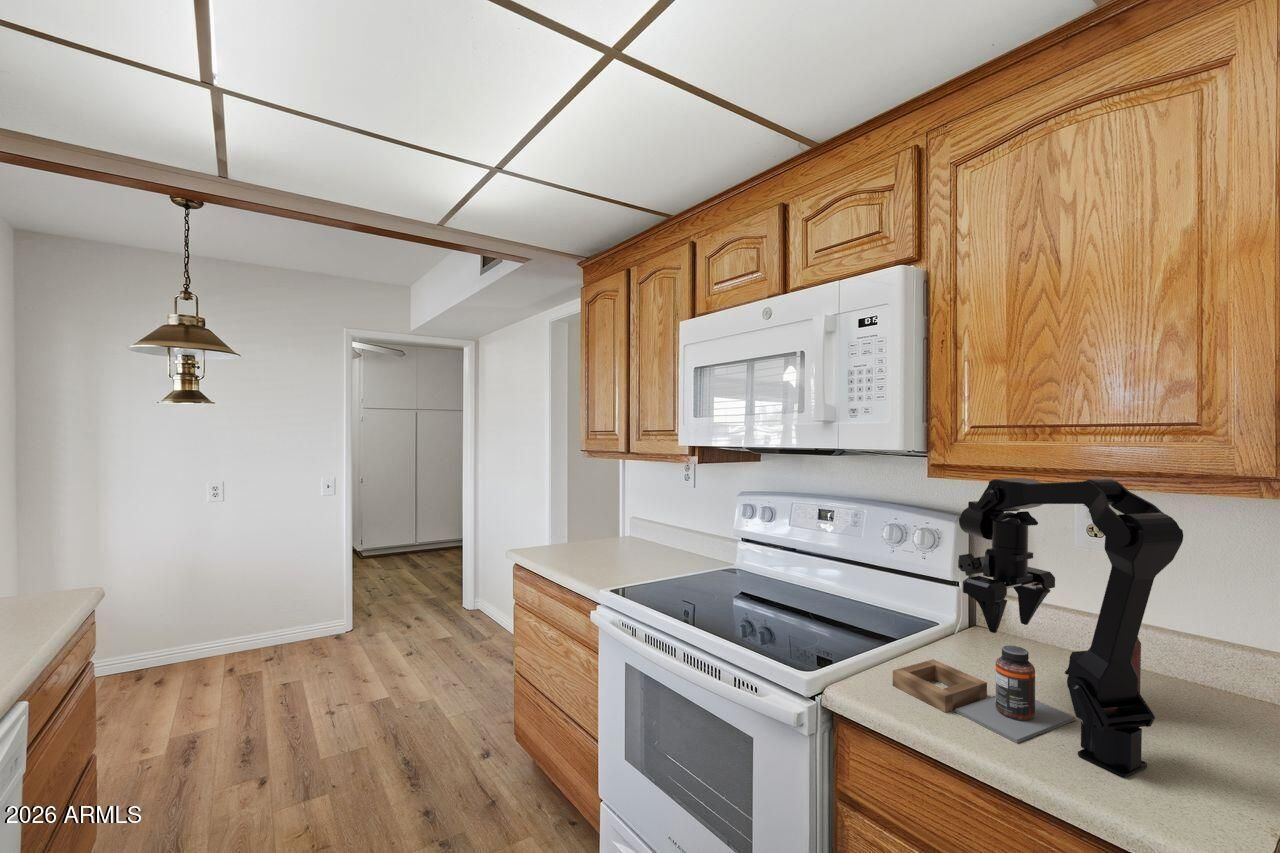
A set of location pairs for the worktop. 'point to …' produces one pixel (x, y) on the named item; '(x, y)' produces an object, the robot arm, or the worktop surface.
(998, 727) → the grey rubber mat
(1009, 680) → the supplement bottle
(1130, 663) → the robot arm
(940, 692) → the walnut holder
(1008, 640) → the worktop surface
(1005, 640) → the worktop surface
